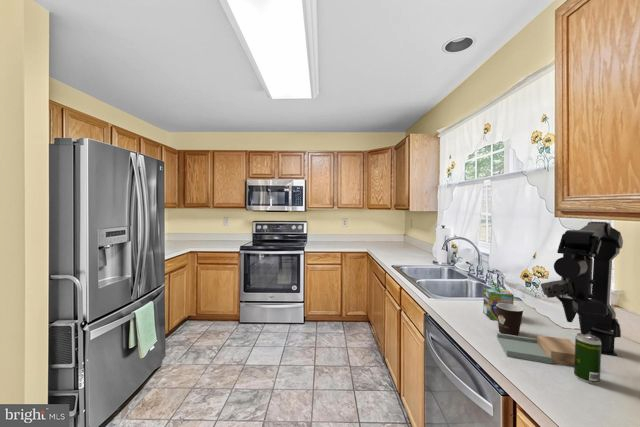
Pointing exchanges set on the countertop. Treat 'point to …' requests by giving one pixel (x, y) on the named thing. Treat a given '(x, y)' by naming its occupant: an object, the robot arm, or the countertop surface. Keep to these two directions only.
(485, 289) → the chalk box
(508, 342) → the grey-green tray
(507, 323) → the coffee mug
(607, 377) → the countertop surface
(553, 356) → the tan block
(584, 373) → the beer can
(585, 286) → the robot arm
